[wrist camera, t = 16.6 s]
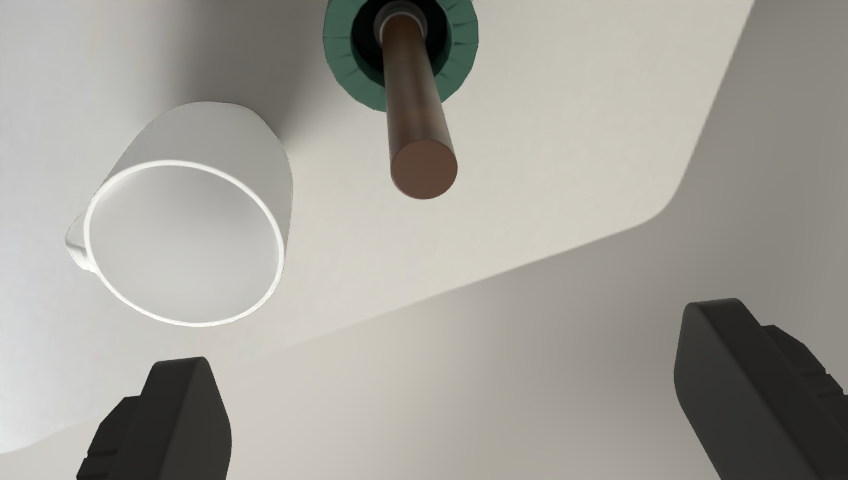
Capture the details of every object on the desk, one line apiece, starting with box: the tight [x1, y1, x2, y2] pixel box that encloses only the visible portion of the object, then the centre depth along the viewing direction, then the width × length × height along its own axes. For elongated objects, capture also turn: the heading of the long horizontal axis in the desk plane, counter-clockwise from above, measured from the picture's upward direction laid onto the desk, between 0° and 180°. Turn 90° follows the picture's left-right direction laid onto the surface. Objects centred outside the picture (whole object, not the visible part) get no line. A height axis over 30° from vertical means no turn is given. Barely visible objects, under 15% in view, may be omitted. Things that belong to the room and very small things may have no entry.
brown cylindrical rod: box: [372, 0, 458, 199], centre depth 26 cm, size 3×3×21 cm
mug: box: [65, 102, 293, 326], centre depth 34 cm, size 12×9×12 cm
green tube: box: [323, 0, 479, 112], centre depth 32 cm, size 7×7×8 cm
